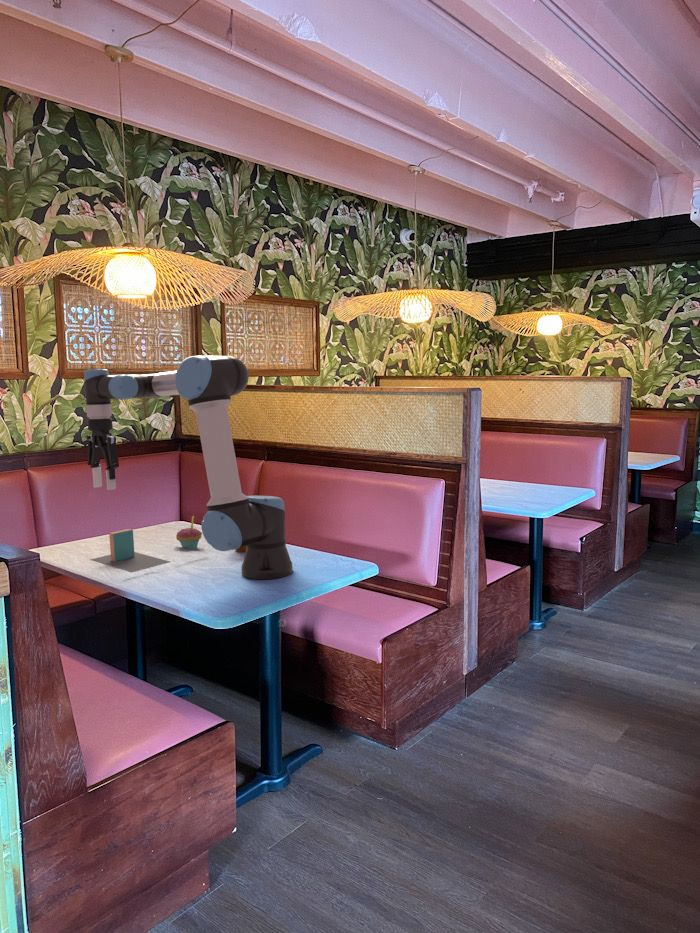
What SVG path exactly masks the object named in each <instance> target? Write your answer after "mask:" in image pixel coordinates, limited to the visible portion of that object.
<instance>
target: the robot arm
mask: <svg viewBox="0 0 700 933" xmlns="http://www.w3.org/2000/svg"><path fill="white" fill-rule="evenodd" d="M83 374H84V376H83V378H84V380H83V384H84V394H85V410H86V417H87V418H88V419H87V420H86V422H87V430H88V431H91V434H88V435H86V440H87V458H86V459H87V462H86V463H87V465H88V466H90V468H91V472H92V483H93V484H92V485H93V488H94V489H95V488H101V487H103V477H102V465H101V464H100V462H101V455H102V454H103V459H104V462H105V465H106V468H105V477H106V478H105V480H106V490H107V491H112V490H116V489H117V483H116V482H117V481H116V469H117V468H120V463H119V457H118V455H119V454H118V450H117V438H116V436H115V435H114V436H111V434H110V430H111V431H112V430H113V428H114V427H113V419H112V416H113V415H112V414H113V413H112V409H113V408H112V400H120V401H122V400H131V399H145V398H147V399H148V398H153V399H154V398H155V399H156V398H163V397H169V396H181V397H182V398H183V399H185V400H187V403H188V407H189V409H190V410H192V411H193V412H194V413H195V416H196V422H197V427H198V432H199V438H200V443H201V450H202V455H203V461H204V465H205V471H206V477H207V482H208V483H207V484H208V489H209V494H210V498H209V500H208V502H207V503H206V508H207V512H206V513H205V514H204V515H203V518H202V519H203V520H201V526H200V527H201V533H202V536H203V537H204V539H205V541H206V542H207V543H208V545H209V546H211V547H212V548H213V549H215V550H217V551H219V552H227V551H228V552H229V551H236V550H235V549H238V548H239V547H242V546H245V545H246V552H244V558H243V562H242V564H241V576H243V577H244V578H248V579H252V580H272V579H273V580H274V579H280V578H283V577H287V576H289V575H291V574H292V573H293V562H292V560H291V557H290V554H289V551H288V549H287V543H286V540H287V539H286V509H285V500H283V498H281V497H279V496H272V495H246V494H244V493H243V492H242V486H241V482H240V480H241V479H240V475H239V469H238V464H237V463H238V462H237V458H236V452H235V447H234V442H233V441H234V440H233V436H232V435H233V434H232V430H231V425H230V424H231V423H230V418H229V417H230V416H229V413H228V406H229V405H230V403H231V402H232V398H231V397H233V396H236V395H238V394H240V393H242V392H243V391H244V390H245V389H246V388H247V386H248V382H249V379H250V378H249V374H250V373H249V370H248V367H247V366H246V364H245V362H243V361H242V360H240V359H239V358H237V357H235V356H232V355H213V354H212V355H208V354H207V355H206V354H199V355H191V356H187V357H186V358H184V359H183V360H182V361H181V362H180V364H179V366H178V368H177V370H173V371H164V372H158V373H147V374H146V373H145V374H110V372H109V369H108V368H107V369H106V368H93V369H92V368H90V369H86V370H85V371H84V373H83Z"/></svg>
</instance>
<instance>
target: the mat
mask: <svg viewBox="0 0 700 933" xmlns="http://www.w3.org/2000/svg"><path fill="white" fill-rule="evenodd" d="M134 553H135V557H132V558H128V559H124V560H120V561H116V562H114V561H111V554H108V555H104V556H98V557H94V558H91V559H89V560H90V561H93V562H96V563H100V564H103V565H106V566H109V567H113V568H115V569H120V570H122V571H126V572H129V573H134V572H139V571H142V570H146V569H150V568H154V567H157V566H160V565H161V566H162V565H165V564H167V563H171V561H170V560H166V559H162V558H159V557H154V556H151V555H147V554H143V553H139V552H135V551H134Z"/></svg>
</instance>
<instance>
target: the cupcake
mask: <svg viewBox="0 0 700 933" xmlns="http://www.w3.org/2000/svg"><path fill="white" fill-rule="evenodd" d="M194 519H195V514H194V513H193V515H192V516H191V523H190V527H188V528H181V529H180V530H179V531H177V533H176V535H175V536H176V538H175V539H176V540H177V541H179V544H180V545H181V548H183V549H186V550H191V551H194V550H196V549H198V544H199V541H200V539H201V538H202V535H203V533H202V531H200V530H199V529H197V528H195V527H194V522H195V520H194Z"/></svg>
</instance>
